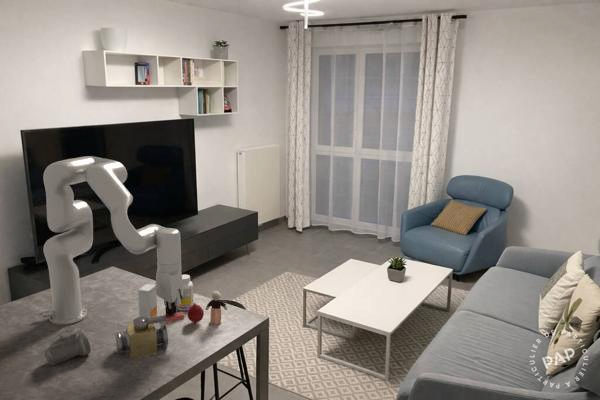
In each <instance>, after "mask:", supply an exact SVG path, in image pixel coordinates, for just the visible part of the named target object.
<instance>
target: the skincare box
mask: <svg viewBox="0 0 600 400" xmlns="http://www.w3.org/2000/svg"><path fill="white" fill-rule="evenodd" d="M137 294H138V315H139V316H138V317H147V318H153V317H157V315H158V302H157V301H158V299H157V298H158V296H157V294H156V284H152V283H146V284H144V285H143V286H141V287H140V288H139V289H138V293H137Z"/></svg>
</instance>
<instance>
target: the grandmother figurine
mask: <svg viewBox="0 0 600 400" xmlns="http://www.w3.org/2000/svg"><path fill="white" fill-rule="evenodd" d="M221 296H222V294H221V293H220V291H218V290H214V291H212V293H211V297H212V299H211V300H210V301H208V303H207V305H206V307H205V310H206V311H208V310H209V308H210V316H209V317H210V321H209V322H208V325H210V326H213V325H216V326H220V325H221V324H222V322H221V321H222V308H221V307H223V308H224V310H225V311H227V310H228V307H227V305H226V303H225V302H224V301H222V300H220V298H221Z"/></svg>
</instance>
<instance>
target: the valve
mask: <svg viewBox="0 0 600 400" xmlns="http://www.w3.org/2000/svg"><path fill="white" fill-rule="evenodd" d="M126 329H127V330H126V331H127V334H122V333H121V331H120V332H116V333H115V345H116V353H117V356H122V355H123V353H124V352H125V351H129V354H130V355H129V356H130V358H131V359H133V358H140V357H143V356H149V355H153V354H157V353H158V345H162V347H163V348H165V347H168V346H169V337H168V336H169V335H168V329H167V326H166V323H165V324H160V326H159V328H156V327H155V323H154V324H149V326H148V327H147V328H145V329H142V330H137V329H134V324H133V322H130V323H128V322H127V323H126Z"/></svg>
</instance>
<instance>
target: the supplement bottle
mask: <svg viewBox="0 0 600 400" xmlns="http://www.w3.org/2000/svg"><path fill="white" fill-rule="evenodd" d="M182 280H183V299H182V300H181V305H179V306H176V310H178V311H180V312H183V311H184V312H185V311H186V312H187V311H188V310H189V308H190V307H191V306H193V304H194V303H195V302H194V300H195V299H194V284H193V283H194V282H192V281H191V276H190V274H182Z"/></svg>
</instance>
